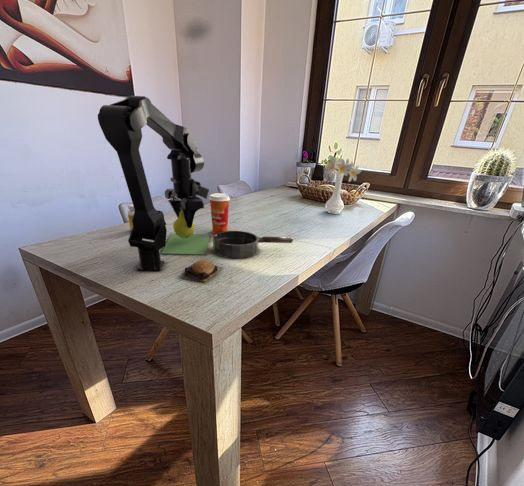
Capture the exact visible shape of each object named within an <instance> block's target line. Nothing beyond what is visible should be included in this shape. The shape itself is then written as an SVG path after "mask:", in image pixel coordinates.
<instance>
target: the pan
mask: <svg viewBox="0 0 524 486" xmlns="http://www.w3.org/2000/svg"><path fill="white" fill-rule="evenodd" d="M256 237H258V236H257V235H256V234H255V233H252V232H250V231H249V232H248V231H245V230H244V231H242V230H227V231H224V232H219V233H217V234H214V235H213V236H212V251H213V252H214V253H215V254H217V255H218V256H221V257H224V258H229V259H244V258H245V259H246V258H250V257H253V256H255V255H256V254H257V253H258V252H259V243H258V242H259V239H257V240H256Z"/></svg>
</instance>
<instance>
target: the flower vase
mask: <svg viewBox="0 0 524 486" xmlns="http://www.w3.org/2000/svg"><path fill="white" fill-rule="evenodd" d="M326 165H327V166H325V168H324V170H325V171H327V172H326V175H328V174H330V173H331V172H334V171H335V170H336V171H335V183H334V188H333V192H332V195H331V196H330V198H329V199H327V201H326V202H325V204H324V206H325V209H326V210H327V213H328V214H332V215H338V214H340V212H341V211H342V210H343V209H344V208H345V204H344V201H343V200H342V197H341V189H342V183H343V179H344V176H346V177H347V176H348V175H349V177H348V183H350V182H352V180H353V181H354V182H356V181H357V180H358V175H359V174H360V173H362V169H359V165H356V166H355V164H354V162H353V160H351V162H350V159H349V158H346V160H345V159H344V158H342V157H341V158H339V159H338V160H337V157H336V156H332V157H331V158H330V159H329V162H328V163H327V164H326ZM354 166H355V167H354Z"/></svg>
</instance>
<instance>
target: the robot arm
mask: <svg viewBox="0 0 524 486" xmlns="http://www.w3.org/2000/svg"><path fill="white" fill-rule="evenodd" d="M97 121H98V124H99V127H100V129H101V131H102V134H103V137H104V138H105V140H106V141H107V142H108V144H109V145H110V146H111V147H112V148H113V150H114V151H115V152H116V154H117V156H118V160H119V164H120V167H121V169H122V173H123V176H124V180H125V183H126V187H127V189H128V193H129V196H130V199H131V202H132V203H131V204H133V206H134V209H135V212H134V215H133V218H132V223H133V229H132V231H131V230H130V233H129V237H128V239H127V242H128V244H129V246H130V247H131V248H137V251H138V259H139V265H138V267H137V268H136V270H137V271H138V272H139V271H140V272H141V271H143V272H144V271H146V272H160V271H162V268H163V267H164V264H165V260H162V259H161V254H160V250H161V249H164V247H165V246H166V244H167V242H166V241H167V232H168V231H167V227H166V226H167V223H166V219H165V214H164V212H163V210H157V209H156V208H155V205H154V203H153V199H152V195H151V191H150V187H149V184H148V180H147V176H146V172H145V168H144V165H143V164H144V163H143V160H142V157H141V152H140V146H141V142H142V139H143V132H142V129H143V128H144V127H145V126H147V127H149V128H150V129H151V130H152V131H153V132H155V133H156V134H158V135H159V136H160V137H161V138H162V143H163V144H164V146H166V147H167V148H168V149H169V150H170V152H169V153H168V154H167V156H166V159H167V160H170V164H171V165H170V166H171V176H172V177H170V182H171V183H172V187H173V188H166V189H165V191H164V198H165V199H166V200H167V202H168V203H169V204H170V206H171V208H172V210H173V213H174V214H175V215H176V217H177V218H178V217H179V213H180V211H182V214H183V216H184V219H185V221H186V224H187V226H188V228H191V227H192V223H193V224H194V218H195V215H196V213H197V212H198V211H199V210H201V209H204V208H205V201H204V200H203V199H206V200H207V199H208V195H209V193H210V188H207V187H204V186H202V185H201V182H200V181H197V180H194V178H192V173H196V172H201V171H202V170H203V169H204V166H205V160H204V157H203V156H202V155H201V154H200V153H199V149H198V146H197V145H196V142H195V139H194V137H193V134H192V132H191V131H190V129H188V128H187V127H185V126H183V125H180V124H176V123H174V122H173V121H172V120H171V119H170V118H168V117H167V116H166V115H165V113H164V112H162V111H161V110H160V109H159V108H157V106H155V105H154V104H153V103H152V101H151V99H150V98H149V97H147V96H145V95H129V96H127V97H126V98H124V99H122V100H119V101H117V102H113V103H110V104H103V105H102V106H101V107H100V108H99V112H98V114H97ZM202 198H203V199H202ZM143 239H144V240H143Z"/></svg>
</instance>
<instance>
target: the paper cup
mask: <svg viewBox="0 0 524 486" xmlns="http://www.w3.org/2000/svg"><path fill="white" fill-rule="evenodd" d="M208 200H209V205H210V214H211V215H210V216H211V217H210V218H211V226H212V227H211V229H212V233H213V234H214V235H215V234H217V233H219V232H224V231H228V230H229V229H228V228H229V212H230V211H229V209H230V208H229V207H230V201H231V198H230V197H229V194H227V193H222V192H221V193H220V192H218V193H217V192H216V193H212V194H210V195H209V198H208Z"/></svg>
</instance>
